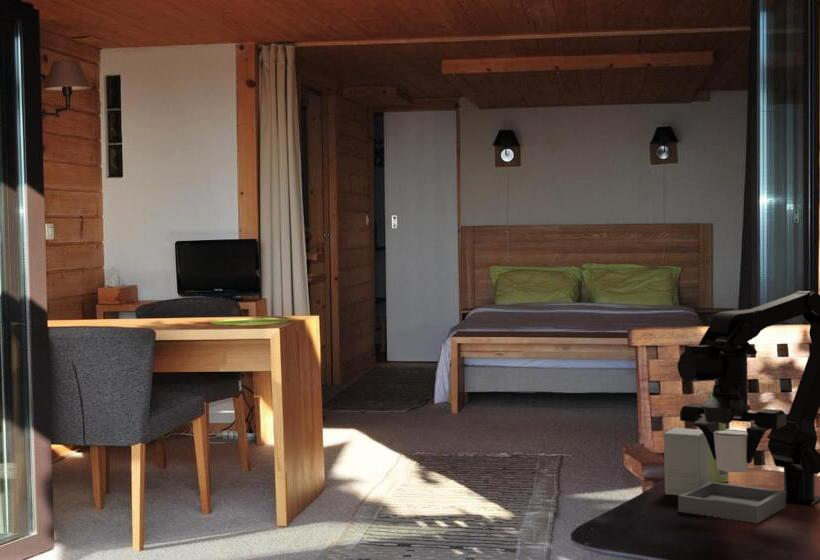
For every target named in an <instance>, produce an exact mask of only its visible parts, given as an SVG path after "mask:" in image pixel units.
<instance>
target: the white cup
mask: <svg viewBox="0 0 820 560" xmlns="http://www.w3.org/2000/svg"><path fill="white" fill-rule="evenodd" d="M713 433H714V443H715V452H716V462H717V469H718V470H721V471H726V472H728V473H743V472H747V471H748V470H749V465H750V463H748V462H747V446H748V434H747V431H746V430H739V429H726V430H718V431H714V432H713Z"/></svg>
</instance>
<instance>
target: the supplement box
mask: <svg viewBox="0 0 820 560" xmlns="http://www.w3.org/2000/svg"><path fill="white" fill-rule="evenodd" d="M663 454H664V455H663V456H664V458H663V459H664V460H663V461H664V463H663V464H664V495H668V496H671V495H673V496H679V495H681V494H683V493H686V492H688V491H690V490H692V489H695V488H697V487H699V486H701V485H704V484H706V483H708V482H710V479H709V444H708V442H707V439H706V437H705V435H704V433H703V432H702V430H701V429H700V428H699V429H696V428H695V429H694V428H683V427H682V428H681V427H674V428H671V429H669V430H667V431H666V432H663Z"/></svg>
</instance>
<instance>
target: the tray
mask: <svg viewBox="0 0 820 560" xmlns="http://www.w3.org/2000/svg"><path fill="white" fill-rule="evenodd" d="M677 496H678V497H677V498H678V499H677V501H678V503H677V504H678V505H677V506H678V509H677V510H678V513H685V514H693V515H697V514H698V515H699V516H704V515H706V516H705V517H711V516H713V518H718V517H720V519H724V518H726V520H731V519H733V520H732V521H738V520H740V522H744V521H746V522H745V523H751V522H752V523H753V524H758V523H760V522H762V521H764V520H765V519H768V518H769V517H771V516H773V515H774V514H776V513H778V512H779V511H781V510H782V509H785V508H786V504H787V502H786V491H784V490H780V489H779V490H778V489H777V490H776V489H770V488H763V487H755V486H748V485H746V486H745V485H739V484H731V483H725V482H724V483H716V482H708V483H706V484H704V485H701V486H699V487H697V488H695V489H692V490H690V491H688V492H686V493H683V494H681V495H677Z"/></svg>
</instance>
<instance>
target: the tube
mask: <svg viewBox="0 0 820 560" xmlns="http://www.w3.org/2000/svg"><path fill="white" fill-rule="evenodd" d="M712 394H713V390H710V391H708V396H707V400H708V399H709V398H710V397H711V396H712ZM719 430H727V424H722V423H721V422H719ZM709 479H710V482H716V483H724V484H725V483H727V482H729V472H726V471H721V470H718V469H717V462H716V460H714V458H713V455H712V453H711V450H710V447H709Z"/></svg>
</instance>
